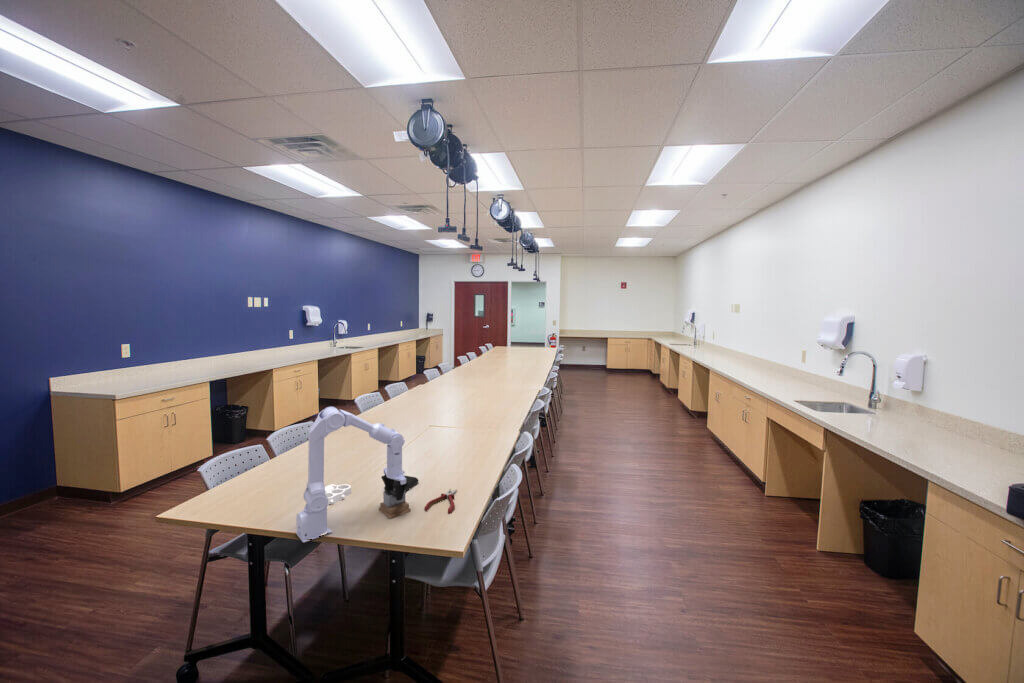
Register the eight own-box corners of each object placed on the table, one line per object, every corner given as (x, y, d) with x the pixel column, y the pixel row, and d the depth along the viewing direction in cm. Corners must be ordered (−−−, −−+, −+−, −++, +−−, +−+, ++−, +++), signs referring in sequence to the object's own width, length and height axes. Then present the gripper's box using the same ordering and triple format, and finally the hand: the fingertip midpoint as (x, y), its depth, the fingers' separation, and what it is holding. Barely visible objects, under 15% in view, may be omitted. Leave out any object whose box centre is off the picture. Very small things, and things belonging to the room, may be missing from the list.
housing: (405, 502, 162) (405, 490, 161) (388, 508, 157) (388, 495, 156) (399, 498, 165) (399, 486, 164) (383, 504, 160) (383, 491, 159)
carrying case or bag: (400, 479, 191) (380, 492, 178) (400, 473, 191) (380, 485, 177) (420, 483, 188) (401, 496, 174) (420, 476, 188) (401, 489, 174)
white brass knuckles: (336, 487, 182) (358, 495, 175) (297, 503, 167) (319, 513, 159) (336, 479, 182) (358, 487, 174) (297, 495, 166) (319, 504, 159)
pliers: (466, 493, 179) (466, 487, 179) (451, 515, 159) (451, 509, 159) (441, 490, 181) (441, 485, 181) (423, 512, 161) (423, 506, 161)
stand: (389, 519, 155) (389, 511, 154) (378, 510, 161) (378, 503, 161) (410, 511, 161) (410, 503, 161) (399, 503, 167) (399, 496, 167)
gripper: (413, 465, 157) (413, 499, 158) (394, 455, 167) (394, 487, 168) (396, 470, 152) (396, 505, 153) (378, 459, 163) (378, 492, 164)
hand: (394, 496), depth 160 cm, fingers open, 7 cm apart
